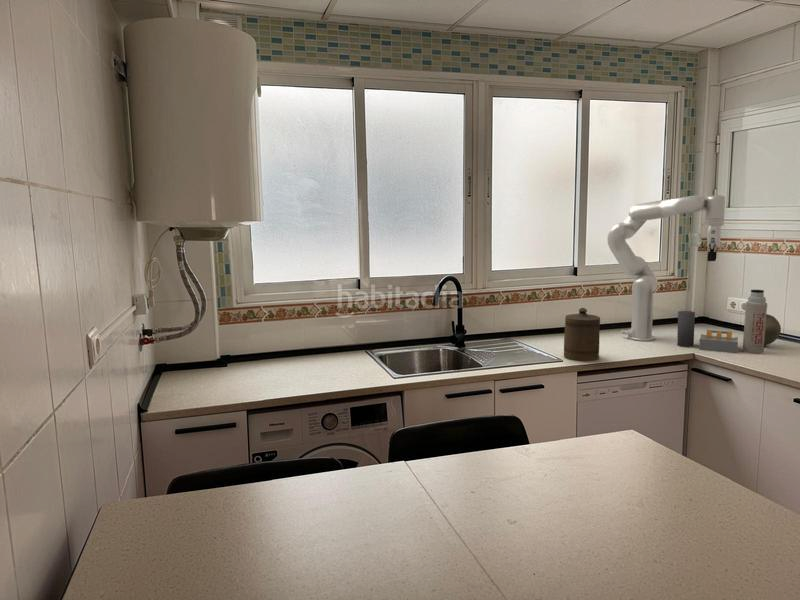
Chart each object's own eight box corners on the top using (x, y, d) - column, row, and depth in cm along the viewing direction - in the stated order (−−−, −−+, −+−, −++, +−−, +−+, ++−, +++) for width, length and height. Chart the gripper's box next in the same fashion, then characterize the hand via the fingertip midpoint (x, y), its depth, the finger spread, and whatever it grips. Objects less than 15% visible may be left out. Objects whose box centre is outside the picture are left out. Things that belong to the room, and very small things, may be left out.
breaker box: (699, 349, 258) (699, 338, 257) (700, 344, 268) (701, 333, 268) (737, 353, 251) (737, 341, 250) (737, 347, 261) (737, 336, 260)
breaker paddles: (706, 337, 261) (706, 330, 260) (706, 335, 262) (707, 329, 261) (731, 339, 256) (731, 332, 255) (731, 337, 257) (732, 331, 256)
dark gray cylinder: (680, 347, 263) (681, 313, 261) (674, 343, 270) (675, 311, 268) (696, 347, 263) (697, 313, 260) (690, 343, 269) (691, 310, 267)
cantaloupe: (740, 346, 263) (742, 314, 260) (747, 341, 273) (749, 310, 271) (776, 351, 253) (779, 318, 251) (782, 345, 263) (785, 313, 261)
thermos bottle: (765, 354, 248) (770, 291, 243) (744, 353, 250) (748, 290, 246) (761, 350, 255) (766, 289, 251) (740, 349, 258) (745, 288, 254)
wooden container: (602, 355, 252) (604, 306, 248) (594, 362, 239) (595, 311, 236) (569, 351, 259) (570, 304, 256) (559, 358, 247) (560, 309, 244)
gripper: (723, 223, 248) (720, 262, 251) (724, 222, 263) (721, 259, 265) (703, 223, 252) (701, 261, 254) (705, 222, 267) (703, 258, 269)
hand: (711, 260), depth 260 cm, fingers open, 9 cm apart
